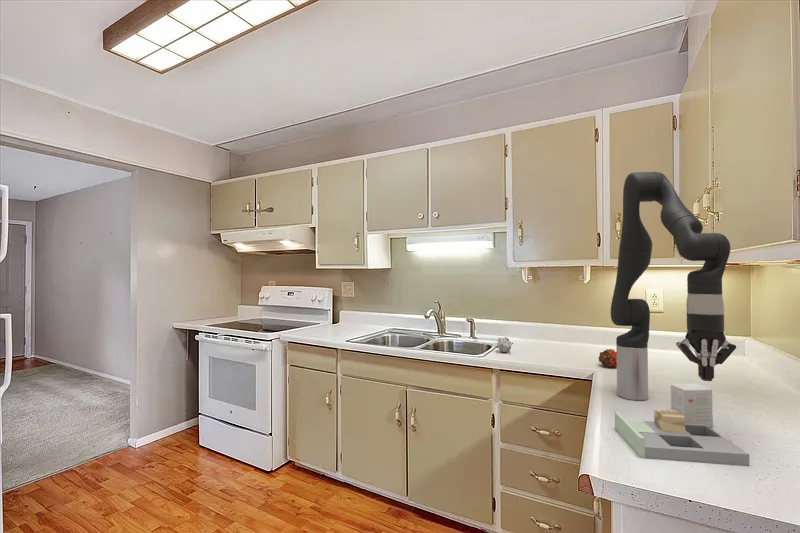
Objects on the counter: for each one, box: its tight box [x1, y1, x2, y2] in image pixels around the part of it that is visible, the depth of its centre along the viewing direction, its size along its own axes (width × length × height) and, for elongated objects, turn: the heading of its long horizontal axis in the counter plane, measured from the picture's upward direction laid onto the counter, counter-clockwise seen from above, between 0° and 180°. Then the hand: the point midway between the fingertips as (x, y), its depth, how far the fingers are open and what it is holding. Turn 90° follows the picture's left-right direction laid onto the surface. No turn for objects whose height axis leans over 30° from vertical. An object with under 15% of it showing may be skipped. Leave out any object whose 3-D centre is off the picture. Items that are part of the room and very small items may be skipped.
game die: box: [494, 336, 514, 354], centre depth 206 cm, size 9×8×10 cm
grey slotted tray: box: [614, 411, 750, 467], centre depth 98 cm, size 17×22×4 cm
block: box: [653, 408, 685, 433], centre depth 101 cm, size 5×5×4 cm
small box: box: [670, 383, 714, 428], centre depth 111 cm, size 8×6×10 cm
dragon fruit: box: [598, 348, 617, 369], centre depth 175 cm, size 8×8×12 cm
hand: (706, 380), depth 100 cm, fingers closed
